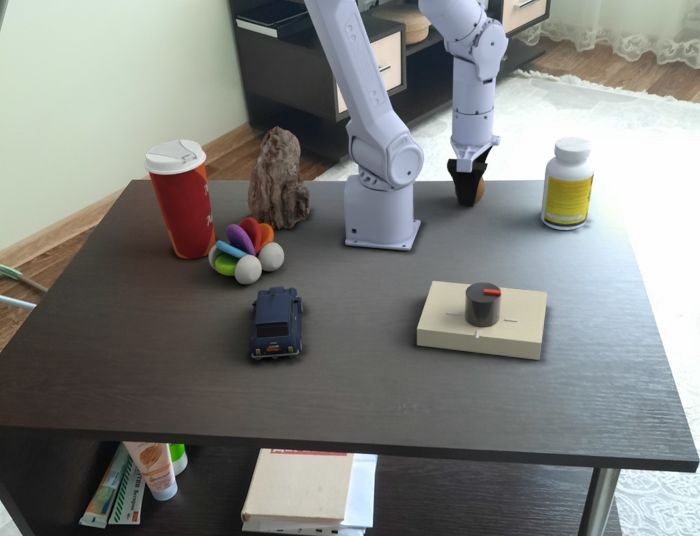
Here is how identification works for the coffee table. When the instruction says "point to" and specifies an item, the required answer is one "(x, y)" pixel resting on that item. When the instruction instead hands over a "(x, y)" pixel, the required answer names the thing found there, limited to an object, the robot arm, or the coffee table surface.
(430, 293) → the cream dial panel
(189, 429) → the coffee table surface
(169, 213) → the coffee cup
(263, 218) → the stone
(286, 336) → the toy car
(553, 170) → the pill bottle
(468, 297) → the knob
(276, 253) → the rainbow baby rattle
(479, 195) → the egg
